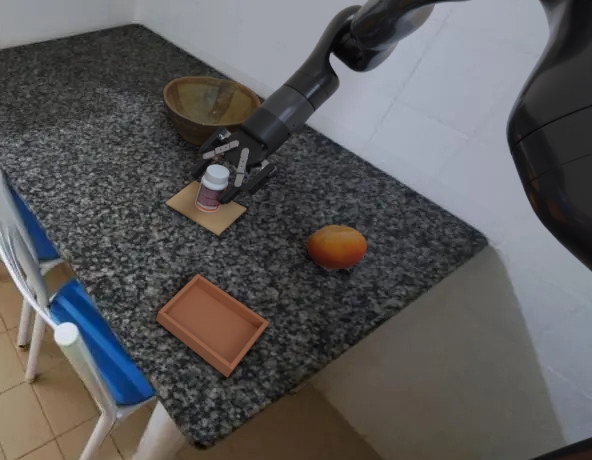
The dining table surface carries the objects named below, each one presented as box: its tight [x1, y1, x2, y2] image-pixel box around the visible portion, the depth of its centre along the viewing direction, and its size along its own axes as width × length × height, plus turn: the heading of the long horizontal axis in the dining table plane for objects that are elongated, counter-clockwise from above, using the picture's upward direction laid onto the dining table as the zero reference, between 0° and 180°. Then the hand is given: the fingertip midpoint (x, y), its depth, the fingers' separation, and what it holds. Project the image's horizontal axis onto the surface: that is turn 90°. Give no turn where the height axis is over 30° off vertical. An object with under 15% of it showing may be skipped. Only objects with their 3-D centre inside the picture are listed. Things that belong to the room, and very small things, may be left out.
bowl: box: [162, 75, 262, 147], centre depth 90 cm, size 22×23×10 cm
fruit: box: [306, 224, 368, 274], centre depth 65 cm, size 8×8×8 cm
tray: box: [155, 273, 270, 378], centre depth 57 cm, size 12×10×2 cm
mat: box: [165, 179, 247, 237], centre depth 76 cm, size 12×10×1 cm
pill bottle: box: [195, 164, 231, 213], centre depth 73 cm, size 5×5×8 cm
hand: (205, 189), depth 72 cm, fingers open, 7 cm apart
